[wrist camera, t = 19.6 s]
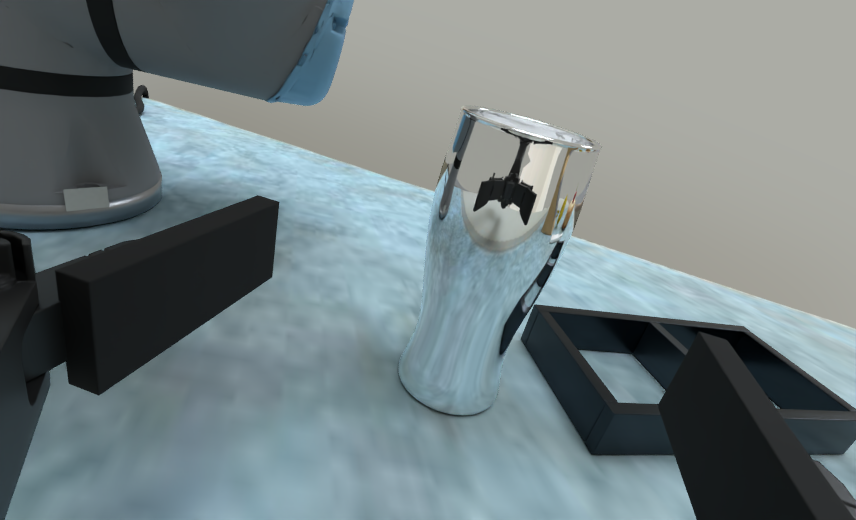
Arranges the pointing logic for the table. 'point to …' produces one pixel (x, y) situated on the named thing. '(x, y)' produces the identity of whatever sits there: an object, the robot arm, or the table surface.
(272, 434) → the table surface
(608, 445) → the black divided tray
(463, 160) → the beer glass
